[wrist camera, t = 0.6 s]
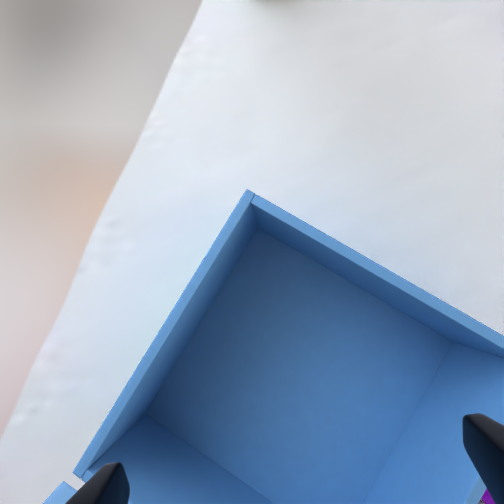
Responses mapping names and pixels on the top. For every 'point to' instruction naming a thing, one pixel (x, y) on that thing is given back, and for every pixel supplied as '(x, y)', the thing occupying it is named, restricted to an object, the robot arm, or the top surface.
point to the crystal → (487, 497)
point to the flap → (61, 494)
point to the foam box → (302, 381)
